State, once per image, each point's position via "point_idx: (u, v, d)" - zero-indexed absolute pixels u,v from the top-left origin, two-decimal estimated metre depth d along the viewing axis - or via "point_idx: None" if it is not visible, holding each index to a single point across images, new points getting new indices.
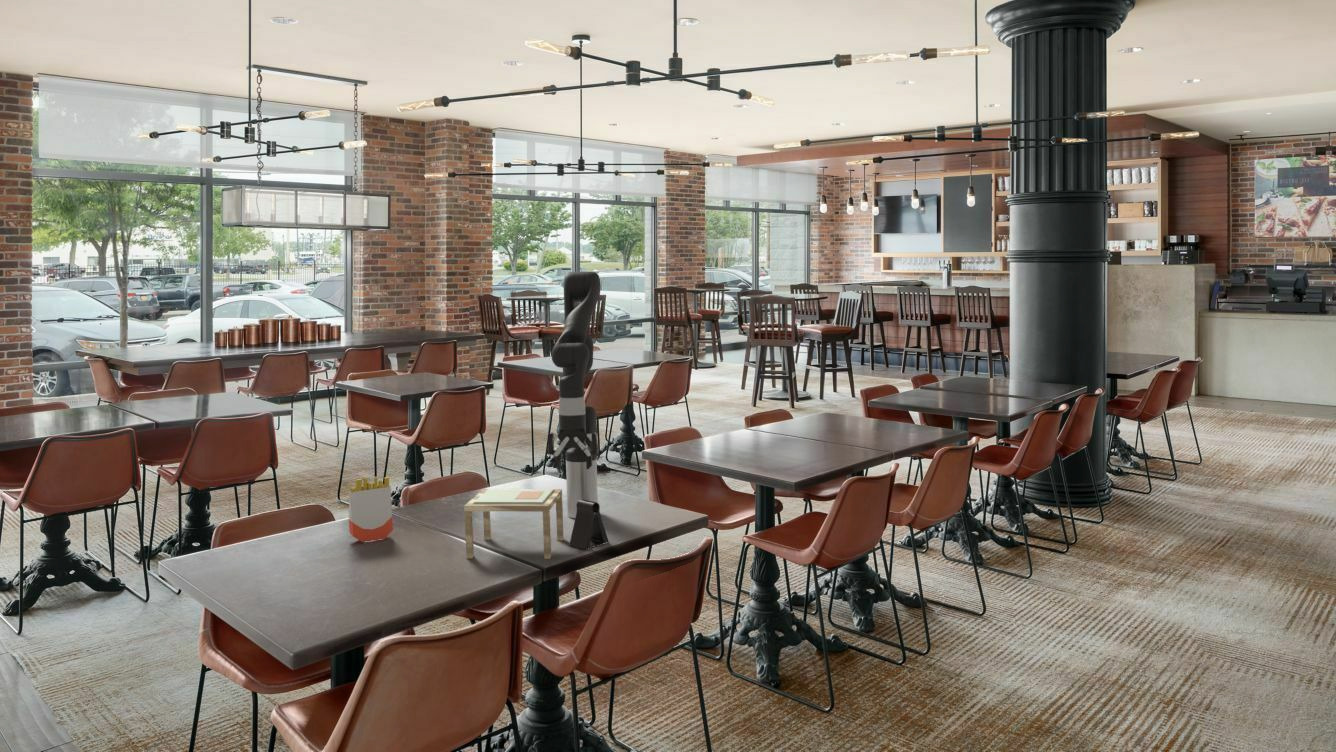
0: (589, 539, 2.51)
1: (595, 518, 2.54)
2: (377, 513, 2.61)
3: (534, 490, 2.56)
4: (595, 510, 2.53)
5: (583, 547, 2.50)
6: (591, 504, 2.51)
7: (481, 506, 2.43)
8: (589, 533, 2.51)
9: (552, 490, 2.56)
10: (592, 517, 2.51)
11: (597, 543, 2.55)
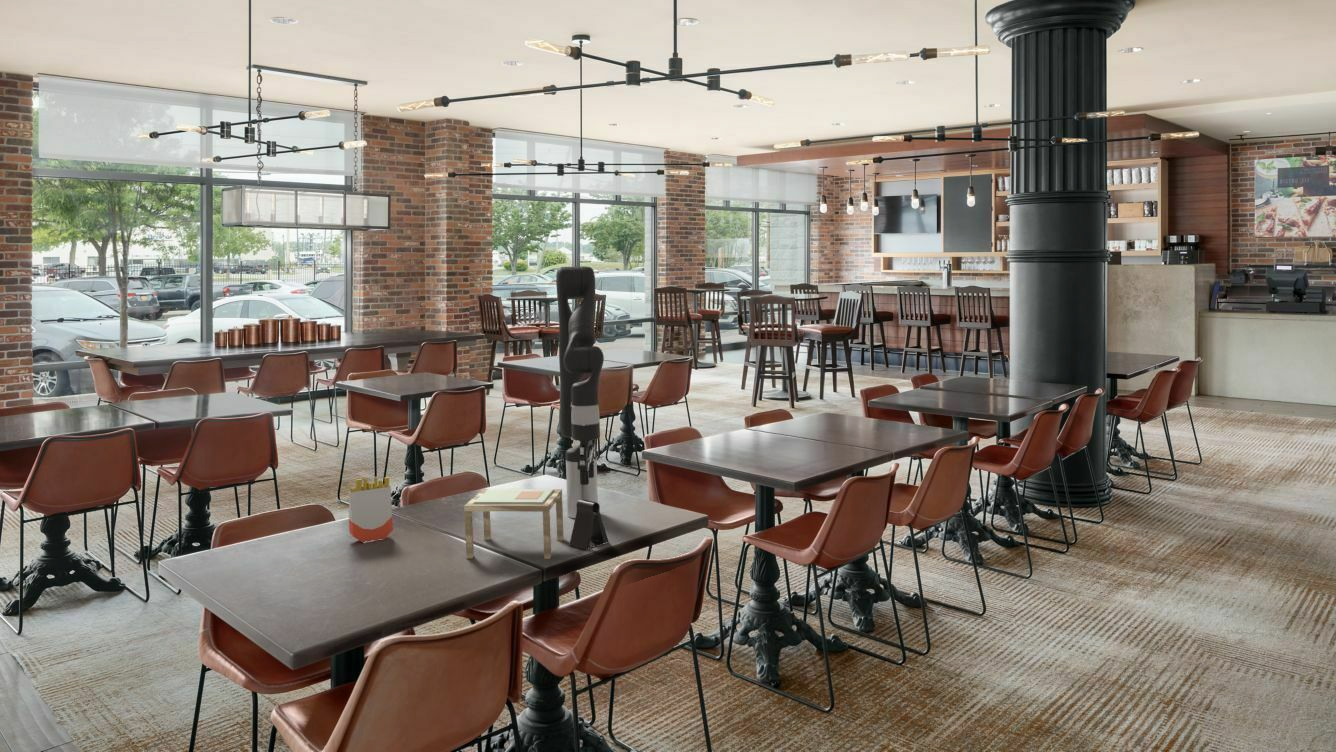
0: (589, 539, 2.51)
1: (595, 518, 2.54)
2: (377, 513, 2.61)
3: (534, 490, 2.56)
4: (595, 510, 2.53)
5: (583, 547, 2.50)
6: (591, 504, 2.51)
7: (481, 506, 2.43)
8: (589, 533, 2.51)
9: (552, 490, 2.56)
10: (592, 517, 2.51)
11: (597, 543, 2.55)
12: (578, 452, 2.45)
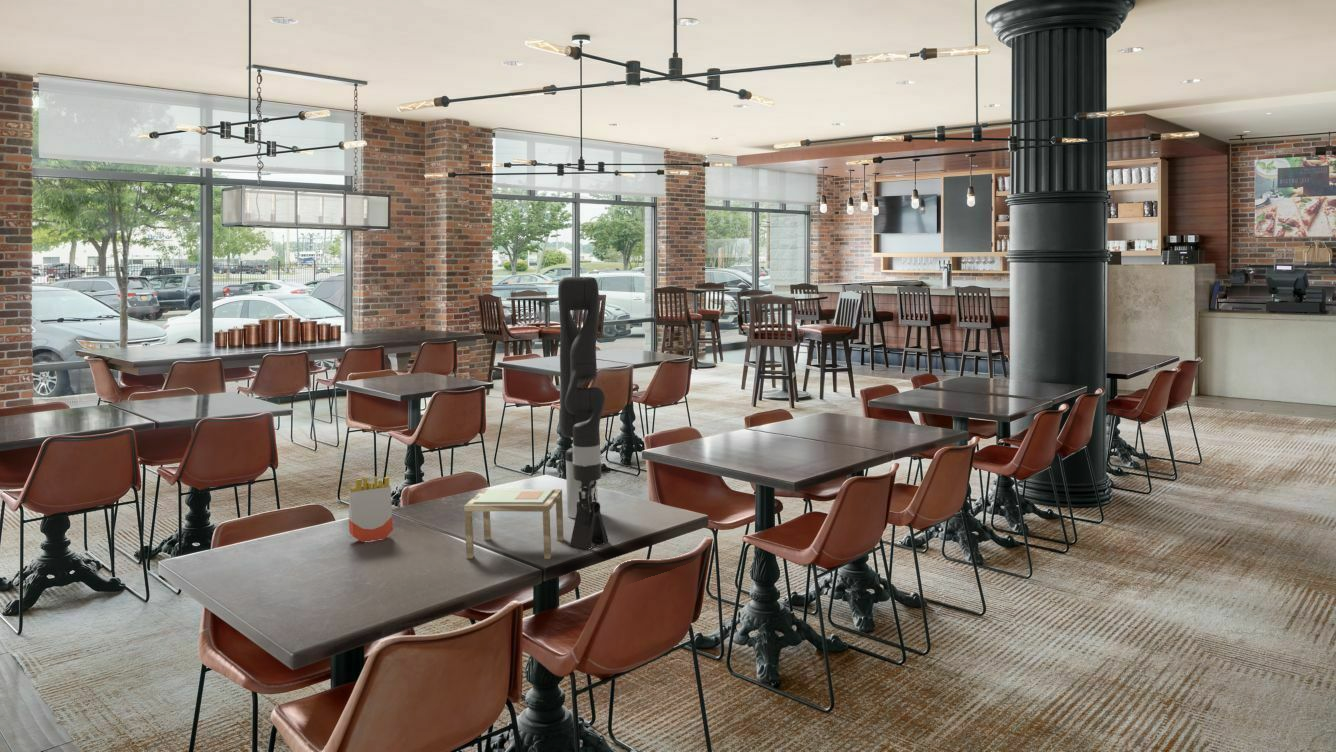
0: (590, 539, 2.51)
1: (596, 518, 2.54)
2: (377, 513, 2.61)
3: (534, 490, 2.56)
4: (596, 510, 2.53)
5: (585, 547, 2.50)
6: (592, 504, 2.52)
7: (481, 506, 2.43)
8: (590, 533, 2.51)
9: (552, 490, 2.56)
10: (593, 517, 2.51)
11: (597, 543, 2.55)
12: (580, 497, 2.47)
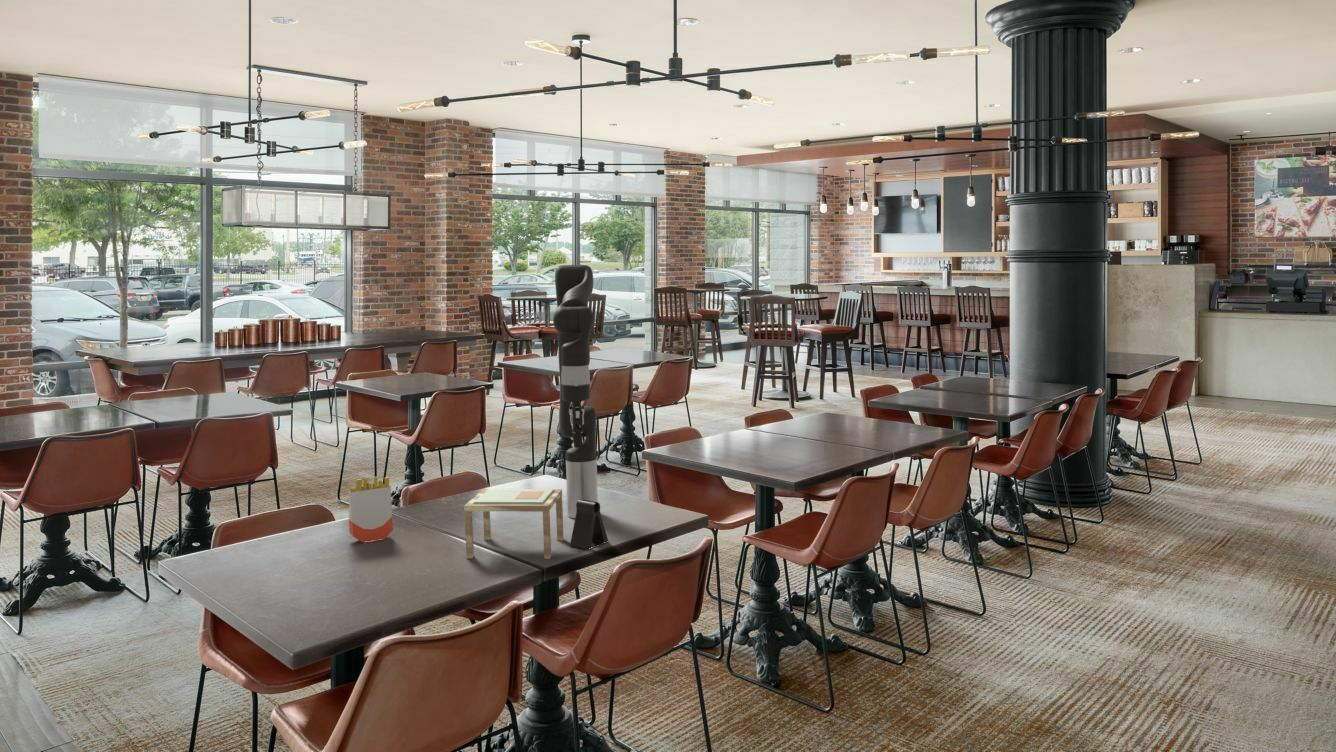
0: (591, 539, 2.51)
1: (596, 518, 2.54)
2: (377, 513, 2.61)
3: (534, 490, 2.56)
4: (595, 510, 2.54)
5: (585, 547, 2.50)
6: (592, 504, 2.52)
7: (481, 506, 2.43)
8: (591, 533, 2.51)
9: (552, 490, 2.56)
10: (593, 517, 2.51)
11: (597, 543, 2.55)
12: (574, 416, 2.44)
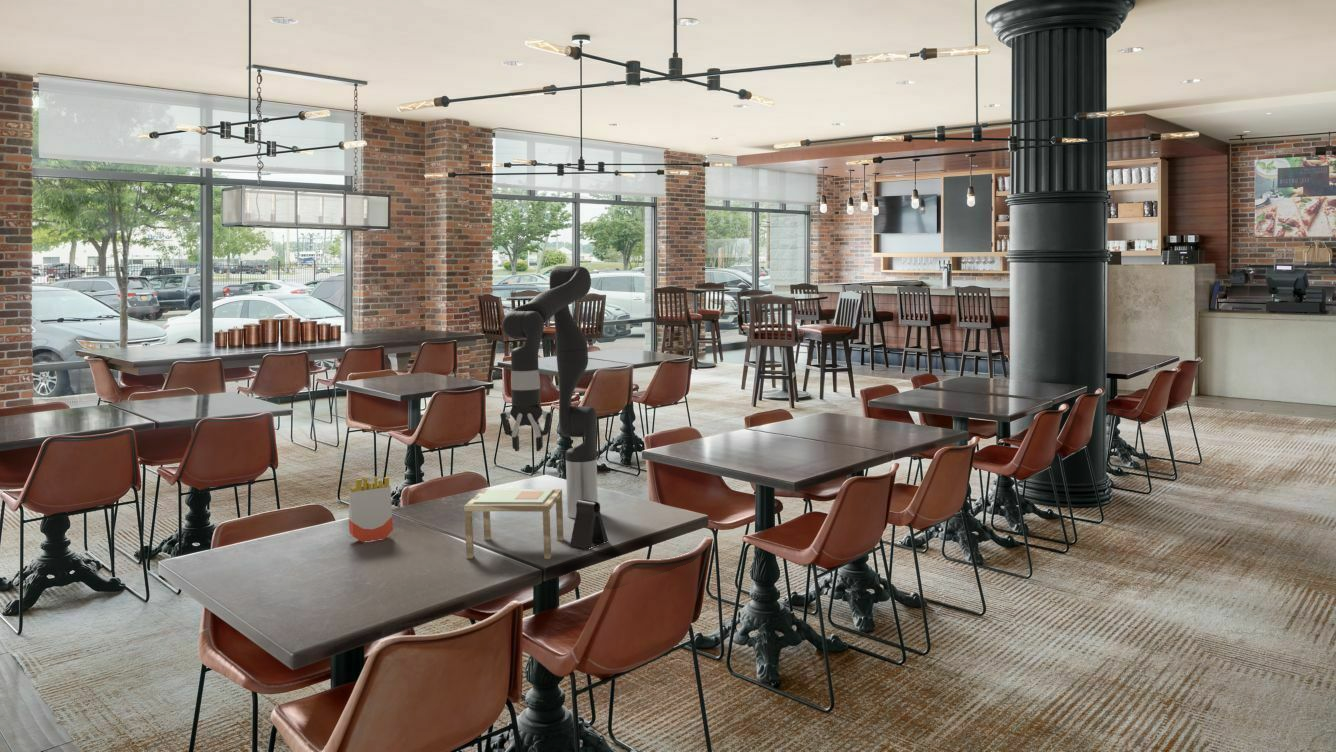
0: (591, 539, 2.51)
1: (596, 518, 2.54)
2: (377, 513, 2.61)
3: (534, 490, 2.56)
4: (595, 510, 2.54)
5: (585, 547, 2.50)
6: (592, 504, 2.52)
7: (481, 506, 2.43)
8: (591, 533, 2.51)
9: (552, 490, 2.56)
10: (593, 517, 2.51)
11: (597, 543, 2.55)
12: (550, 418, 2.47)
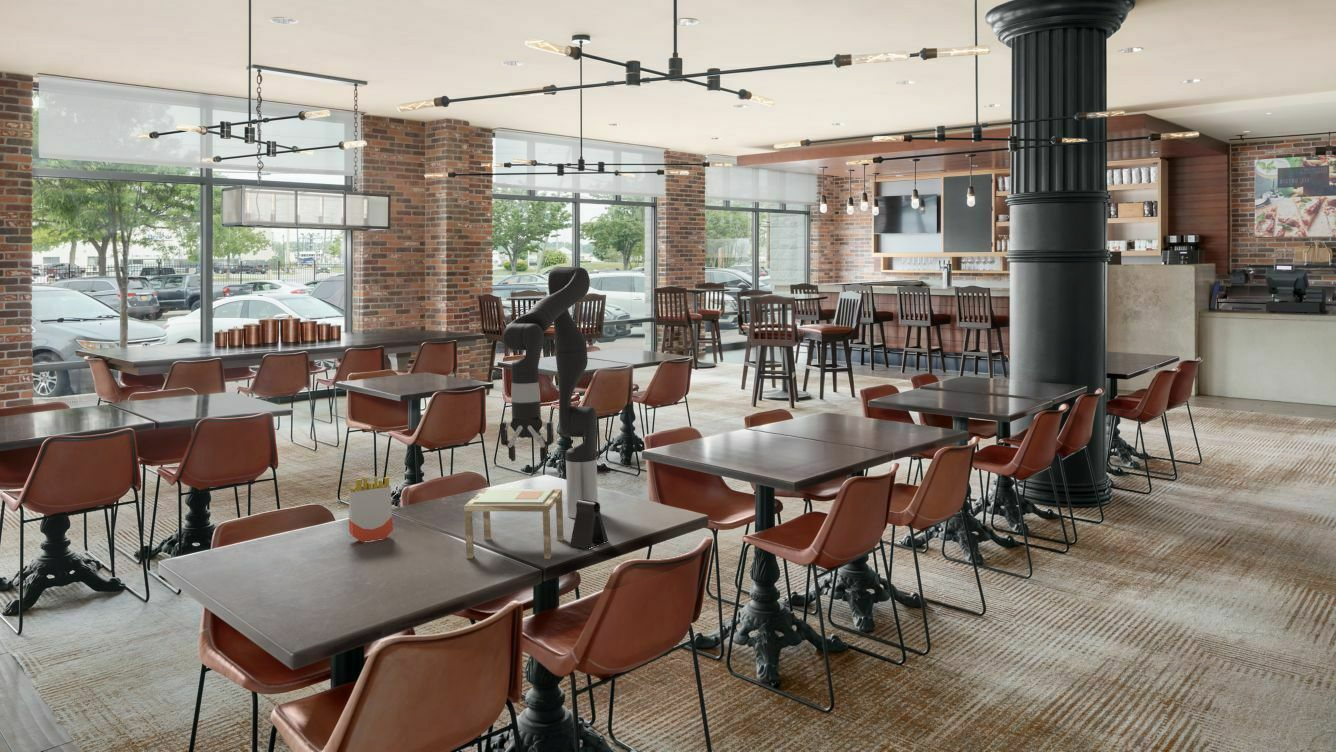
0: (591, 539, 2.51)
1: (596, 518, 2.54)
2: (377, 513, 2.61)
3: (534, 490, 2.56)
4: (595, 510, 2.54)
5: (585, 547, 2.50)
6: (592, 504, 2.52)
7: (481, 506, 2.43)
8: (591, 533, 2.51)
9: (552, 490, 2.56)
10: (593, 517, 2.51)
11: (597, 543, 2.55)
12: (551, 427, 2.47)
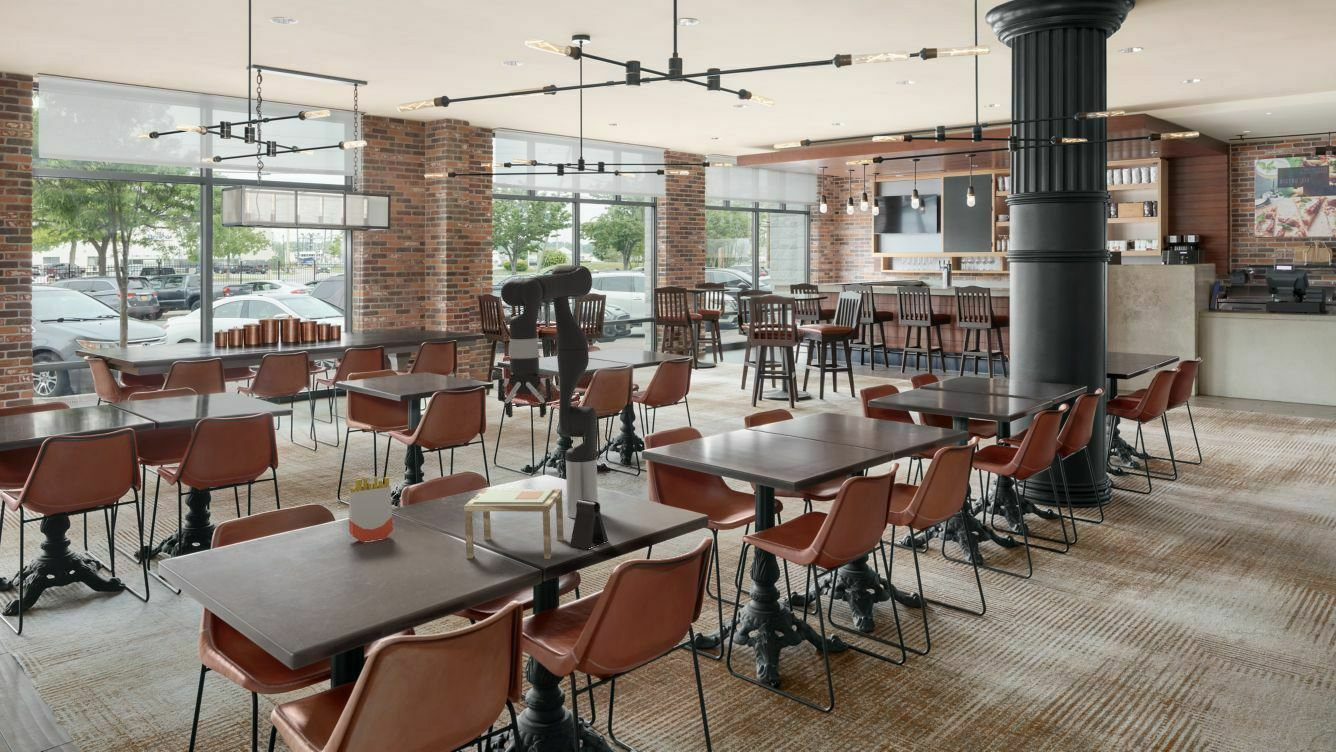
0: (591, 539, 2.51)
1: (596, 518, 2.54)
2: (377, 513, 2.61)
3: (534, 490, 2.56)
4: (595, 510, 2.54)
5: (585, 547, 2.50)
6: (592, 504, 2.52)
7: (481, 506, 2.43)
8: (591, 533, 2.51)
9: (552, 490, 2.56)
10: (593, 517, 2.51)
11: (597, 543, 2.55)
12: (550, 383, 2.46)
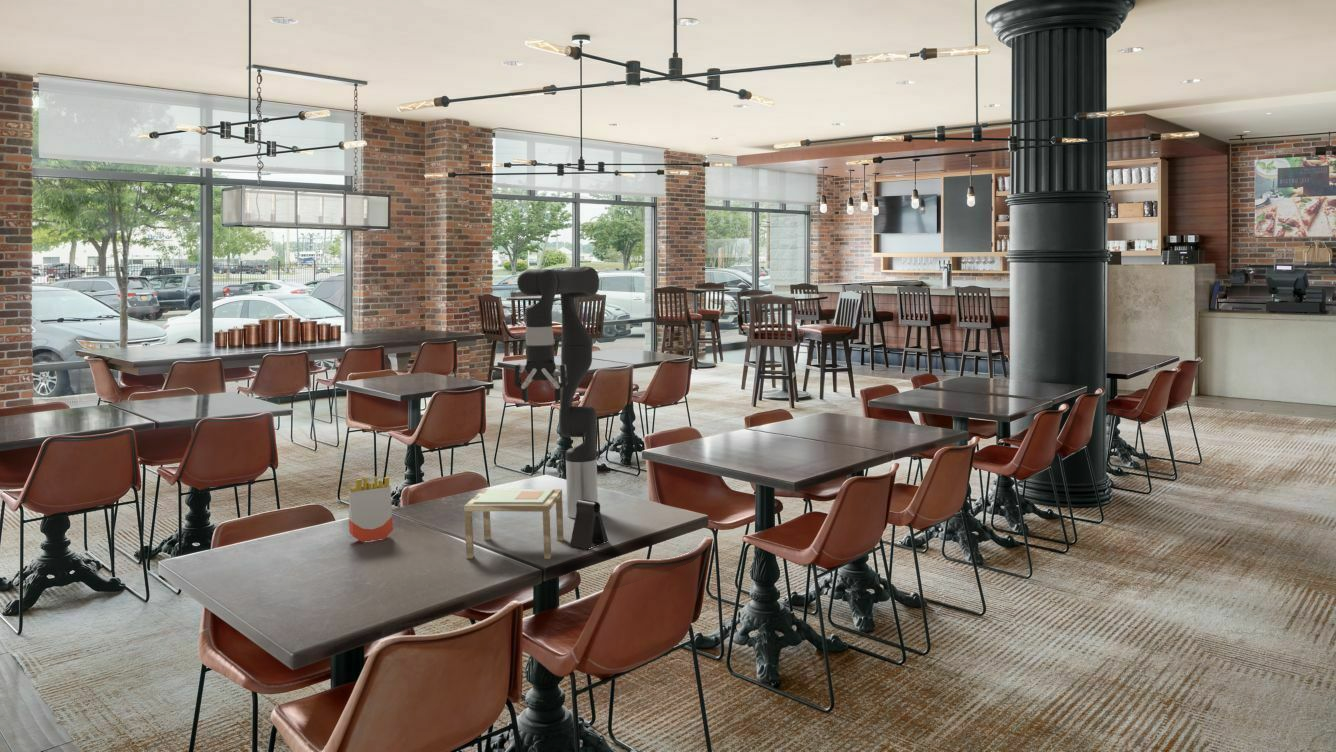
0: (591, 539, 2.51)
1: (596, 518, 2.54)
2: (377, 513, 2.61)
3: (534, 490, 2.56)
4: (595, 510, 2.54)
5: (585, 547, 2.50)
6: (592, 504, 2.52)
7: (481, 506, 2.43)
8: (591, 533, 2.51)
9: (552, 490, 2.56)
10: (593, 517, 2.51)
11: (597, 543, 2.55)
12: (564, 369, 2.55)
